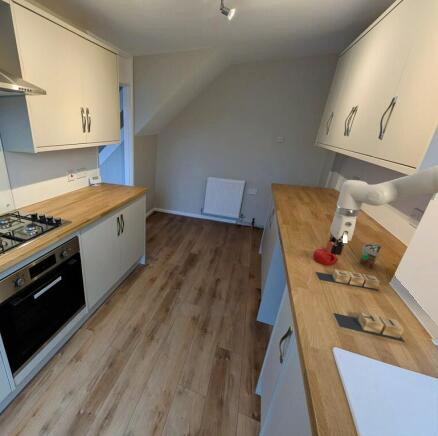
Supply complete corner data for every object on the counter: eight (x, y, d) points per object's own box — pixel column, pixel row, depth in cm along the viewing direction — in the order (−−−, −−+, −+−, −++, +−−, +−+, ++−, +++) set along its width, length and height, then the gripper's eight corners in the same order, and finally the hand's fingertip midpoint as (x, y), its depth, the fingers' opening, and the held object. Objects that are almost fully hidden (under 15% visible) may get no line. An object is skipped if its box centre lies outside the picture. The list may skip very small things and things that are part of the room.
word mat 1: (370, 282, 104) (371, 281, 103) (378, 292, 98) (379, 291, 97) (314, 272, 111) (315, 271, 110) (319, 281, 105) (319, 279, 104)
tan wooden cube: (373, 324, 81) (377, 315, 79) (380, 333, 77) (384, 324, 75) (357, 320, 82) (361, 311, 81) (363, 329, 78) (367, 321, 77)
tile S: (337, 250, 103) (340, 242, 101) (341, 254, 99) (344, 247, 98) (325, 248, 104) (328, 240, 103) (328, 252, 100) (331, 245, 99)
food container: (359, 257, 124) (365, 240, 121) (375, 262, 120) (382, 244, 116) (354, 265, 117) (360, 247, 113) (370, 271, 112) (377, 252, 109)
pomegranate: (307, 259, 122) (311, 243, 119) (320, 256, 125) (325, 240, 122) (326, 269, 113) (332, 252, 110) (340, 265, 117) (346, 248, 114)
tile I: (392, 328, 79) (396, 319, 78) (399, 338, 75) (404, 329, 74) (375, 324, 80) (379, 315, 79) (382, 334, 76) (386, 325, 75)
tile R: (343, 278, 106) (346, 271, 104) (347, 283, 102) (350, 276, 101) (332, 276, 107) (334, 269, 106) (335, 281, 103) (337, 274, 102)
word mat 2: (392, 327, 80) (393, 326, 80) (404, 343, 74) (405, 342, 74) (332, 314, 86) (333, 312, 85) (339, 328, 80) (339, 326, 79)
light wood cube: (371, 283, 102) (374, 275, 101) (376, 289, 99) (379, 281, 97) (359, 280, 104) (362, 273, 103) (363, 286, 100) (366, 279, 99)
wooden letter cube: (357, 280, 104) (360, 273, 103) (362, 286, 100) (364, 278, 99) (345, 278, 106) (348, 271, 104) (349, 284, 102) (352, 276, 100)
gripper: (367, 219, 86) (351, 262, 93) (349, 206, 101) (337, 244, 108) (343, 216, 89) (329, 259, 95) (328, 204, 104) (317, 241, 110)
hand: (333, 251), depth 101 cm, fingers closed on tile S, 4 cm apart
